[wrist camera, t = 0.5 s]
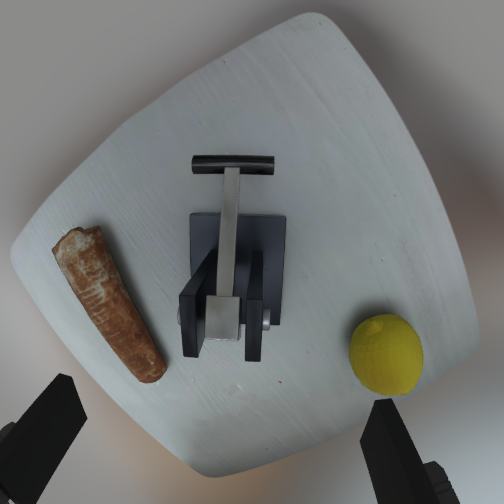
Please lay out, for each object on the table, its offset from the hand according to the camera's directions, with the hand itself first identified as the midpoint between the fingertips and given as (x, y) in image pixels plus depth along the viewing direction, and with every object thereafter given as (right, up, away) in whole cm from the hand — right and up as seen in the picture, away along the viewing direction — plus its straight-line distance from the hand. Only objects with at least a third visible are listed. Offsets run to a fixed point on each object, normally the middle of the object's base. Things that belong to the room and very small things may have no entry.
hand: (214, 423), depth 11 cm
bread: (-13, +1, +21) cm, 25 cm away
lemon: (+16, -3, +21) cm, 27 cm away
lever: (0, +7, +11) cm, 13 cm away
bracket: (0, +5, +19) cm, 20 cm away
